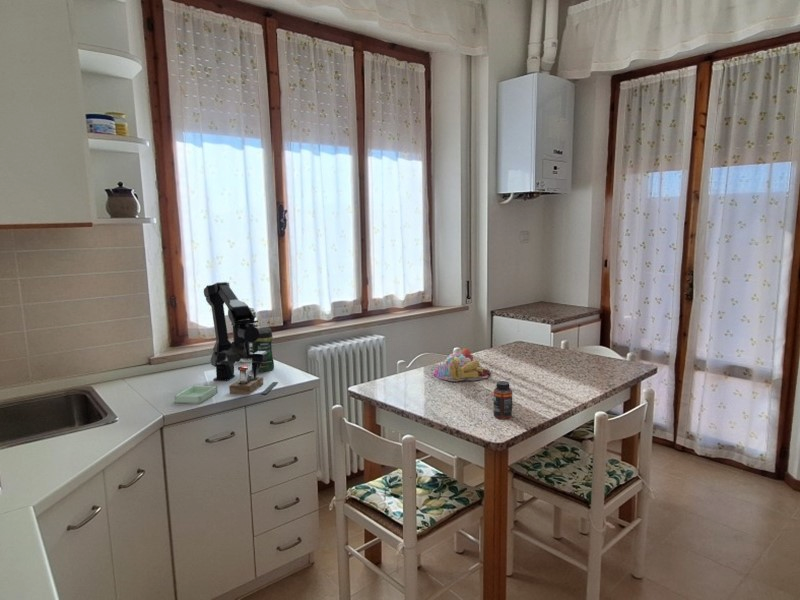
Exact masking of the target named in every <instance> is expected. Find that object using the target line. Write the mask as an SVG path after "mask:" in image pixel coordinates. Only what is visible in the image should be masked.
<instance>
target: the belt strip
mask: <svg viewBox="0 0 800 600" xmlns="http://www.w3.org/2000/svg"><path fill="white" fill-rule="evenodd" d="M278 383H279V382H278V381H273V382H271V384H269V385H268V386H267V387H266V388H265V389H264V390H263V391H262V392H261V393H260V394H261V395H267V394H269V393H270V392H271V391H272V390H273V388H275V387H276V386H277V385H278Z"/></svg>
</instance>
